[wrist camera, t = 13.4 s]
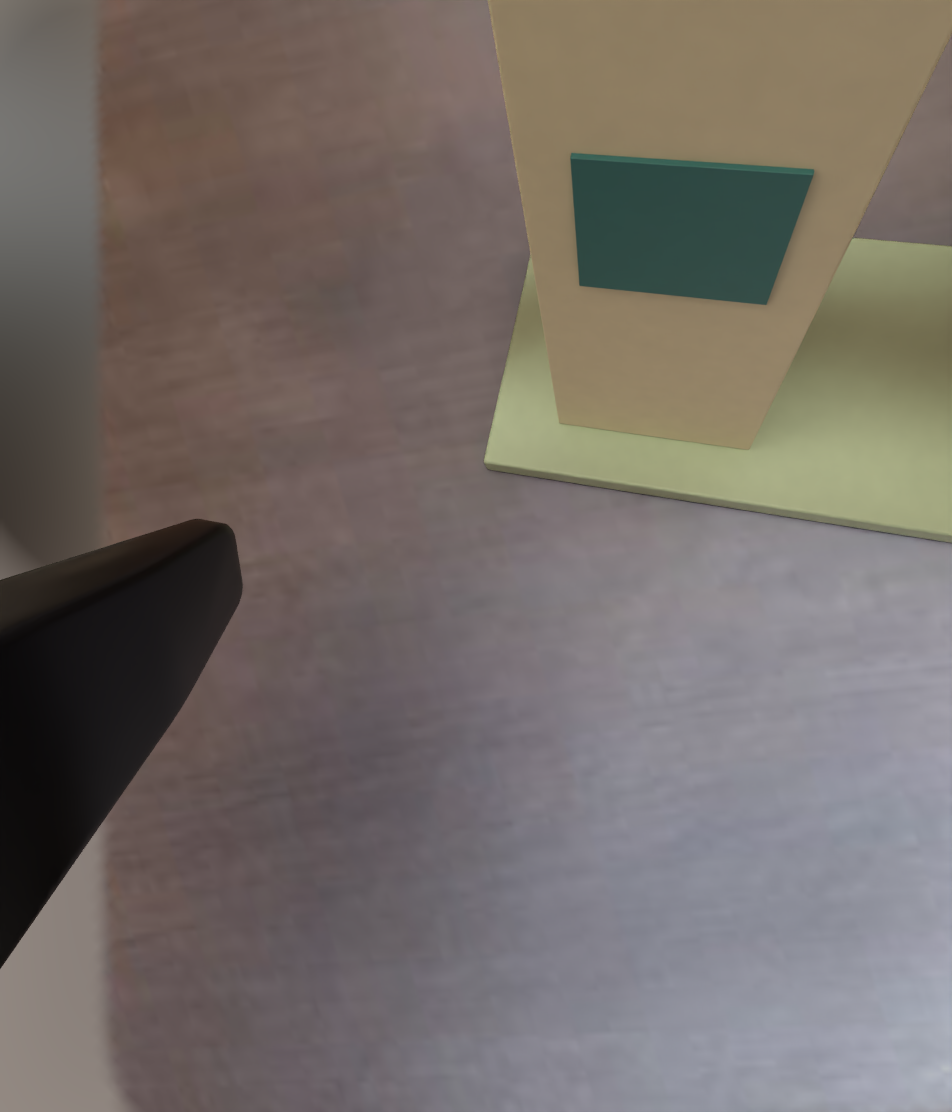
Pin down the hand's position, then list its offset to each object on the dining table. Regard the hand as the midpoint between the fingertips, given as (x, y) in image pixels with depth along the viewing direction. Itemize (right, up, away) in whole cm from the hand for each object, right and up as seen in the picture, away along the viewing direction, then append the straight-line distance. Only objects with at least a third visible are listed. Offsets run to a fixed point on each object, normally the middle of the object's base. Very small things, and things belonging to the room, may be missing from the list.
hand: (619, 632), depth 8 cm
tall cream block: (+3, +6, +11) cm, 13 cm away
